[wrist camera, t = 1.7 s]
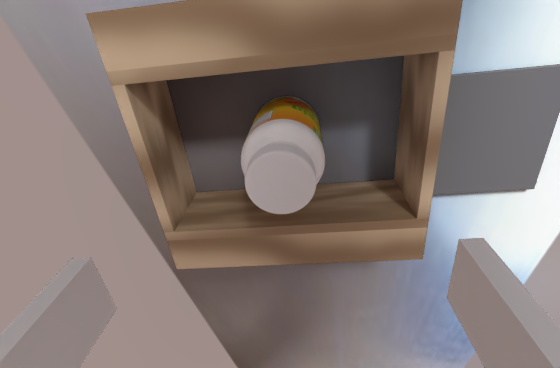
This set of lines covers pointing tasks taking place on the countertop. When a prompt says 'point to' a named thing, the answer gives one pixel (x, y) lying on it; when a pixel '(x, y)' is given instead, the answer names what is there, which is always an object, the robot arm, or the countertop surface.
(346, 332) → the countertop surface
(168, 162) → the wooden frame
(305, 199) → the supplement bottle
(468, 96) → the mat
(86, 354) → the robot arm
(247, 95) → the countertop surface
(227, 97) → the countertop surface
